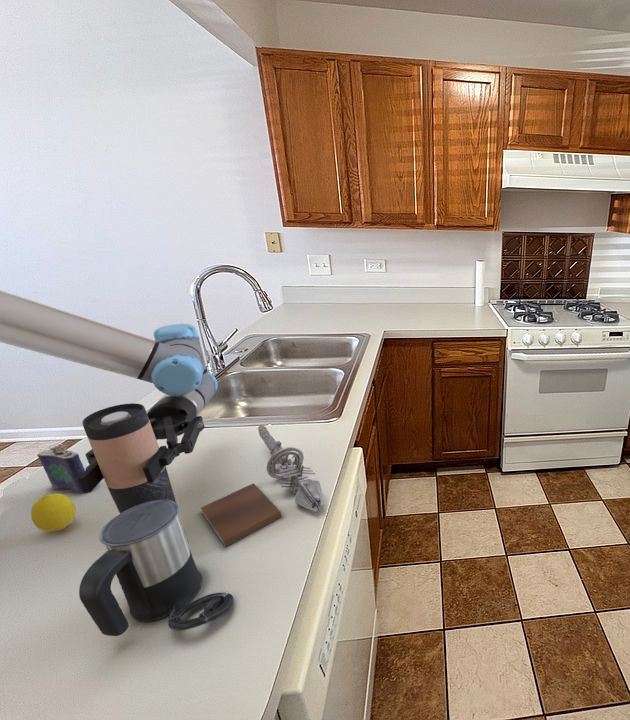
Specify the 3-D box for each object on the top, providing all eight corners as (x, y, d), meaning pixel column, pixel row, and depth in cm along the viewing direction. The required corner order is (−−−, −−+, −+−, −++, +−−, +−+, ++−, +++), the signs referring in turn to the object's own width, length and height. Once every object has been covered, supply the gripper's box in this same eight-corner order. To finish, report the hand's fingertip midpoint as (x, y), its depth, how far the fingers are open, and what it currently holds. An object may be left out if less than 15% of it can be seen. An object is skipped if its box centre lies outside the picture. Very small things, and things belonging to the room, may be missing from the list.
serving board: (202, 513, 79) (200, 507, 79) (255, 488, 86) (253, 483, 86) (225, 547, 71) (223, 541, 71) (281, 517, 78) (280, 511, 78)
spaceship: (278, 412, 102) (245, 412, 96) (343, 487, 80) (305, 492, 74) (270, 440, 103) (237, 441, 97) (332, 521, 81) (294, 529, 75)
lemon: (51, 523, 77) (35, 489, 74) (87, 515, 79) (73, 482, 76) (33, 544, 72) (15, 509, 69) (72, 535, 74) (56, 501, 71)
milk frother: (151, 574, 66) (122, 503, 61) (254, 557, 69) (235, 488, 64) (94, 664, 53) (52, 583, 48) (224, 637, 56) (198, 558, 51)
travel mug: (167, 494, 74) (133, 398, 67) (187, 509, 70) (154, 409, 63) (115, 520, 68) (72, 418, 61) (135, 538, 64) (91, 431, 57)
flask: (49, 489, 86) (30, 447, 83) (65, 480, 89) (47, 439, 85) (84, 494, 85) (65, 452, 81) (98, 485, 87) (81, 444, 84)
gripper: (235, 420, 85) (198, 487, 65) (122, 435, 80) (43, 513, 59) (227, 389, 83) (186, 448, 62) (110, 402, 77) (22, 472, 57)
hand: (116, 480), depth 61 cm, fingers closed on travel mug, 7 cm apart
